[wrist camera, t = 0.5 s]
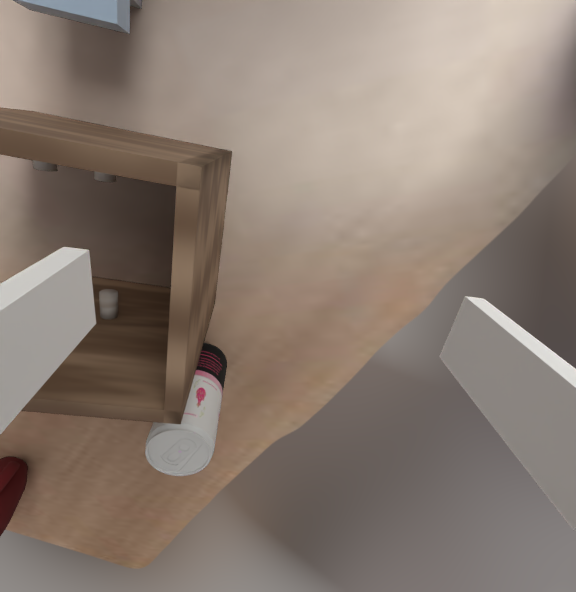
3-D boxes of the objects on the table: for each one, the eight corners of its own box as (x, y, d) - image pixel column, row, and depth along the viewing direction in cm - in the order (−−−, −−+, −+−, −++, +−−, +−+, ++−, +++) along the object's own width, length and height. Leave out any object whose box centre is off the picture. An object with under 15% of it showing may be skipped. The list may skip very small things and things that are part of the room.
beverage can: (168, 362, 46) (129, 456, 32) (199, 331, 44) (172, 417, 31) (206, 388, 48) (184, 486, 35) (237, 360, 47) (227, 451, 33)
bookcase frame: (32, 111, 33) (-250, 79, 15) (232, 151, 36) (201, 166, 17) (49, 280, 40) (-126, 398, 22) (214, 302, 43) (180, 424, 25)
